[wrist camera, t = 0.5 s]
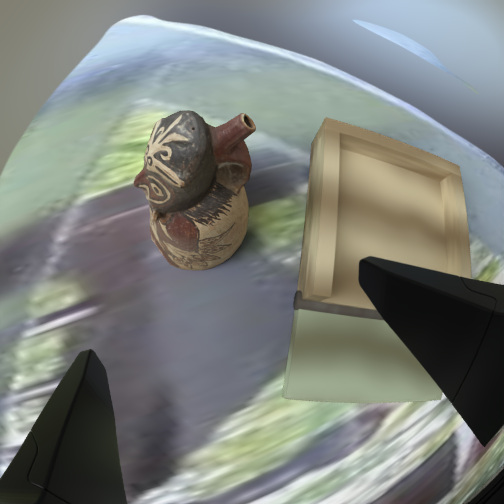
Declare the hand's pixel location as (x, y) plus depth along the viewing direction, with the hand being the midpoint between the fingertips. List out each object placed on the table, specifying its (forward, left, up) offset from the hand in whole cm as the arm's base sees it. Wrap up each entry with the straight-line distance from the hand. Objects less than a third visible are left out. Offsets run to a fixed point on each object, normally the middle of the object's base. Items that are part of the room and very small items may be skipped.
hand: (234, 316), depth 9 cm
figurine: (+5, -6, -13) cm, 15 cm away
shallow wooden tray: (-9, -10, -13) cm, 19 cm away
